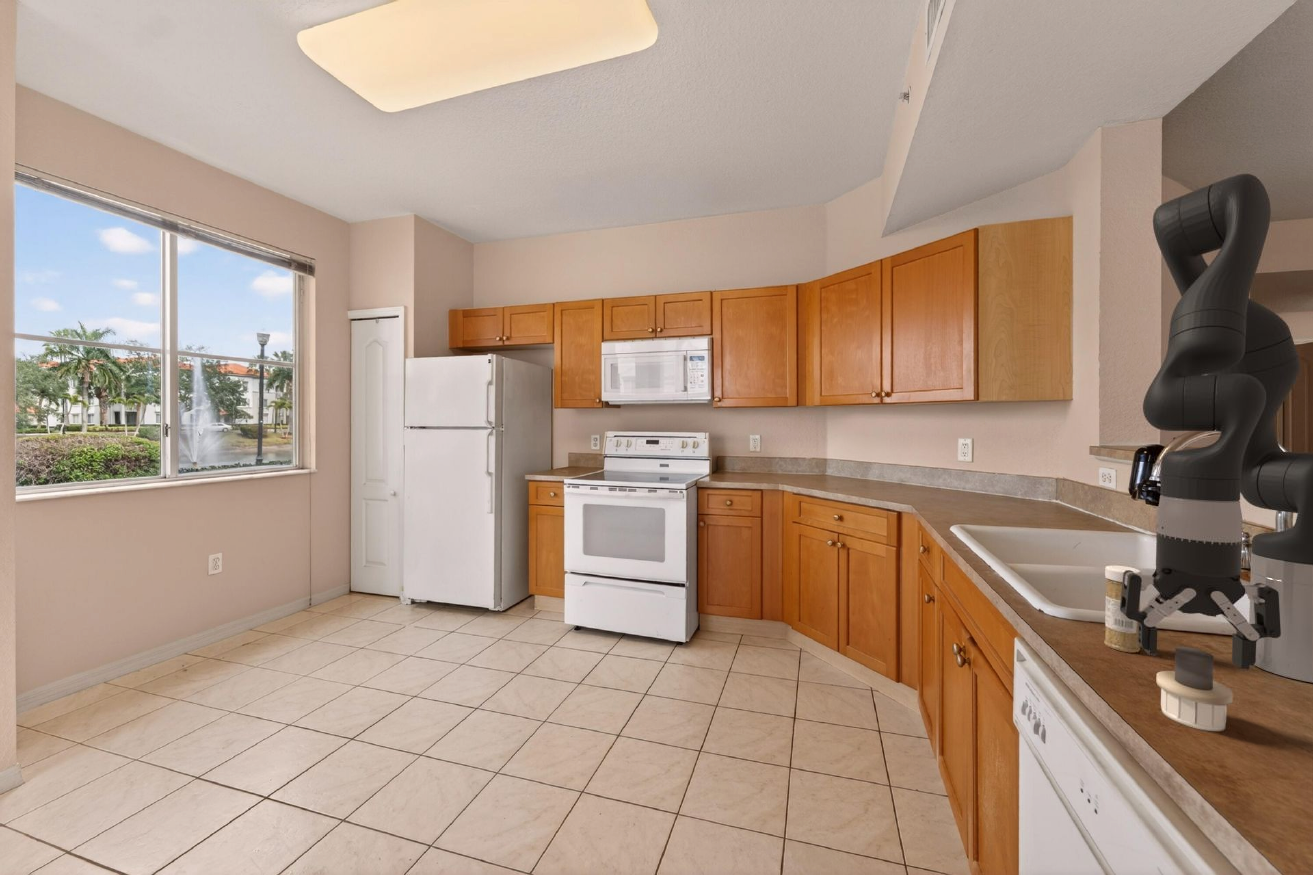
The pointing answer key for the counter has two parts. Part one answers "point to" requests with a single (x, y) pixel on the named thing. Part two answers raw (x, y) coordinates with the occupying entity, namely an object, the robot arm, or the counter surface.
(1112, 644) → the sprinkles bottle
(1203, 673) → the lid
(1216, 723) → the bowl
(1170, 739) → the counter surface
